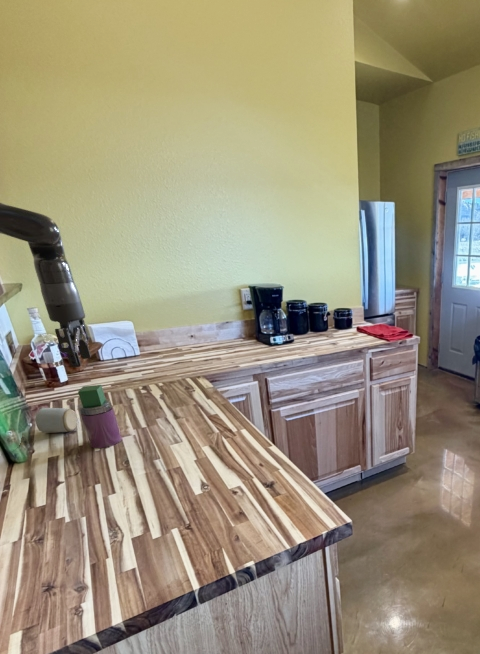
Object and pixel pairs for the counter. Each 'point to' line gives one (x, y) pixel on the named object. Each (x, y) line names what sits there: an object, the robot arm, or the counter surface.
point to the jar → (102, 429)
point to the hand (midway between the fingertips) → (81, 362)
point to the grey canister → (56, 420)
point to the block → (91, 395)
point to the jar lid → (95, 408)
